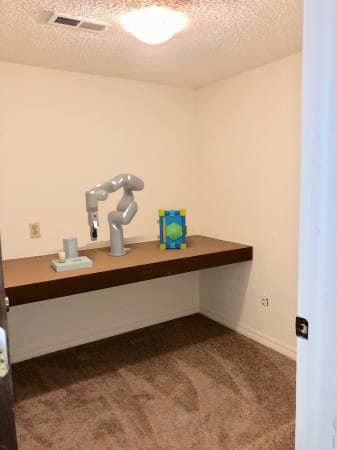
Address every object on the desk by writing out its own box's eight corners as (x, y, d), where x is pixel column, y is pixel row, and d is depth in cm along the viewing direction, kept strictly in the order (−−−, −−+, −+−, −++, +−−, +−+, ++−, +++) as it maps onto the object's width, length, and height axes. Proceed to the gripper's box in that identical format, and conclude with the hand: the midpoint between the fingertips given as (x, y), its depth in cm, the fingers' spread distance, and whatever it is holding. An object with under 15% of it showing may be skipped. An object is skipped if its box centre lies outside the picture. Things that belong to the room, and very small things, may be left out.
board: (85, 261, 246) (85, 246, 245) (92, 266, 232) (91, 251, 231) (52, 265, 236) (51, 250, 235) (57, 271, 222) (55, 255, 221)
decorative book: (187, 250, 272) (187, 210, 268) (157, 250, 273) (155, 210, 268) (187, 245, 286) (186, 207, 282) (157, 246, 287) (156, 208, 282)
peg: (96, 239, 244) (95, 224, 243) (97, 240, 241) (97, 225, 239) (90, 240, 243) (89, 225, 241) (91, 241, 239) (90, 226, 237)
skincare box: (69, 260, 248) (68, 239, 246) (63, 259, 252) (62, 238, 249) (78, 258, 255) (77, 237, 253) (72, 257, 259) (71, 236, 256)
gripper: (101, 210, 233) (103, 238, 236) (94, 207, 247) (95, 234, 250) (90, 211, 229) (91, 239, 232) (83, 208, 244) (84, 235, 247)
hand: (93, 236), depth 241 cm, fingers closed on peg, 4 cm apart
